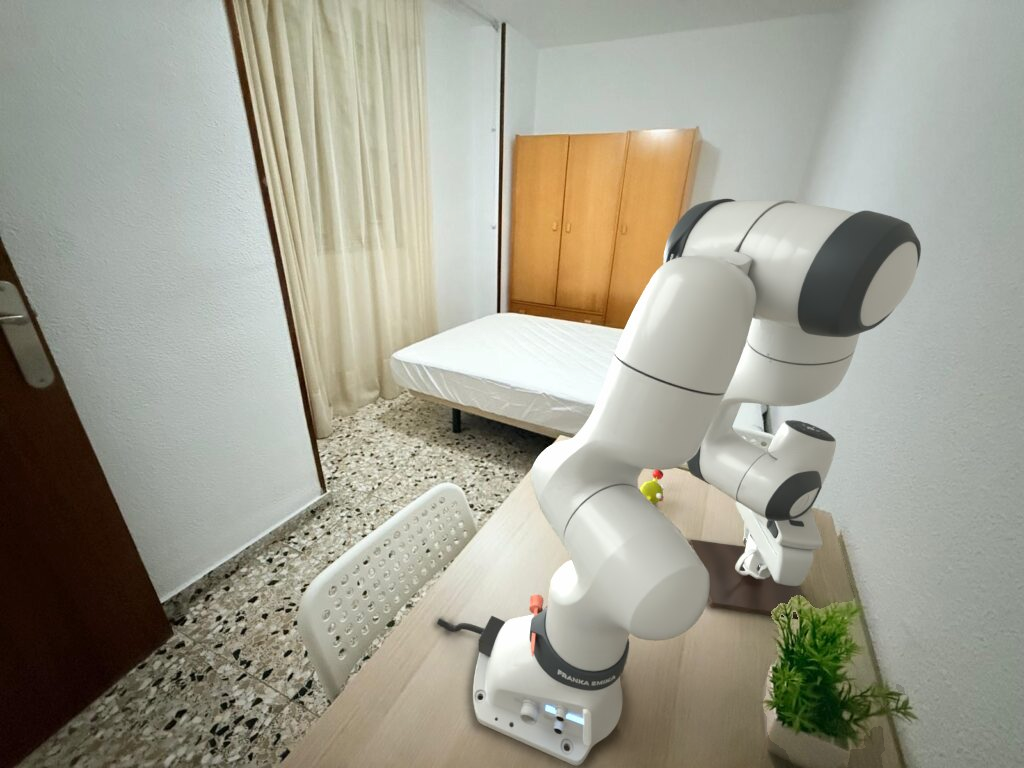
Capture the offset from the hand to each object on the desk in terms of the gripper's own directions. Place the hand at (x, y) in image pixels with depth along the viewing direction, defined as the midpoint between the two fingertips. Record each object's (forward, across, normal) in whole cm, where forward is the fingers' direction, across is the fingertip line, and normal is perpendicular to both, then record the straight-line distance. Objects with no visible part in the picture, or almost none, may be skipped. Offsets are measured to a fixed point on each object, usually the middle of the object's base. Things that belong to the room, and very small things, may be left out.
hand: (754, 558), depth 77 cm
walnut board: (+6, 0, 0) cm, 6 cm away
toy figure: (+6, -18, -16) cm, 25 cm away
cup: (+3, 0, 0) cm, 3 cm away
